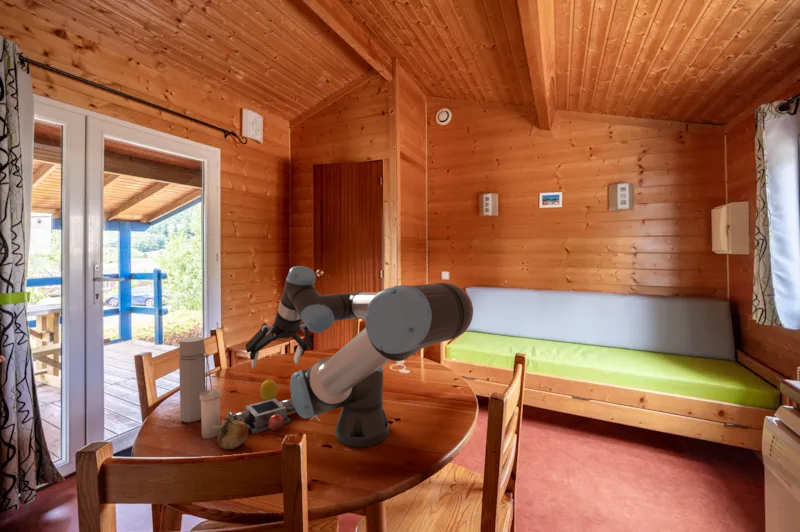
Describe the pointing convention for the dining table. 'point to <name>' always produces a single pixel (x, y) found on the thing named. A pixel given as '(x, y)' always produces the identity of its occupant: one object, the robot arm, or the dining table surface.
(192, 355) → the water bottle
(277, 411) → the valve body
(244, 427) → the onion
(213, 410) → the pipe stub
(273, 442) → the dining table surface
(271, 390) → the lemon
